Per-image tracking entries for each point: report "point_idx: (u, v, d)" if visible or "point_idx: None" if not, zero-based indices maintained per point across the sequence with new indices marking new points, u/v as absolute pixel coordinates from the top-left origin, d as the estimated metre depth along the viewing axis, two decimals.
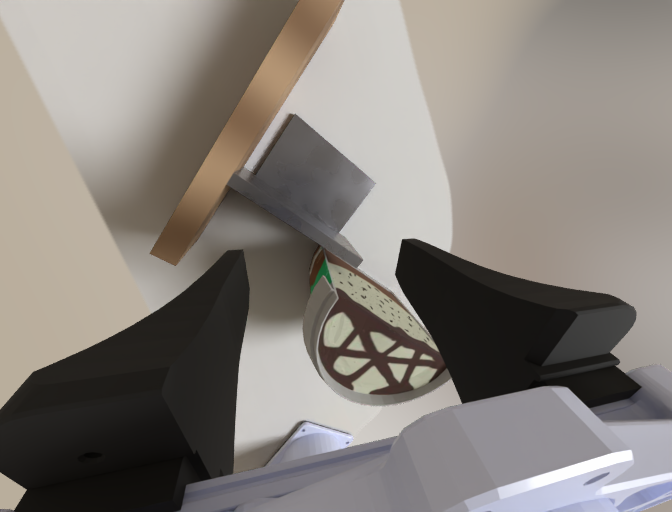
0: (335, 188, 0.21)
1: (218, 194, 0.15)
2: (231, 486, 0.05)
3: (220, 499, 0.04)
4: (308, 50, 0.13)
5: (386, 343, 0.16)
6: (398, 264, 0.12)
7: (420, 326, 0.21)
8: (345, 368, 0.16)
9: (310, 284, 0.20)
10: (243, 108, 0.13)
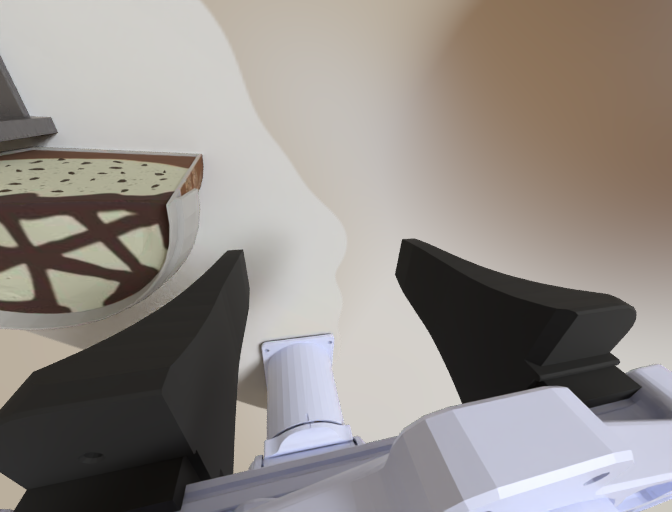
0: None
1: None
2: (231, 486, 0.05)
3: (220, 499, 0.04)
4: None
5: None
6: (398, 264, 0.12)
7: (184, 175, 0.13)
8: (13, 292, 0.11)
9: None
10: None
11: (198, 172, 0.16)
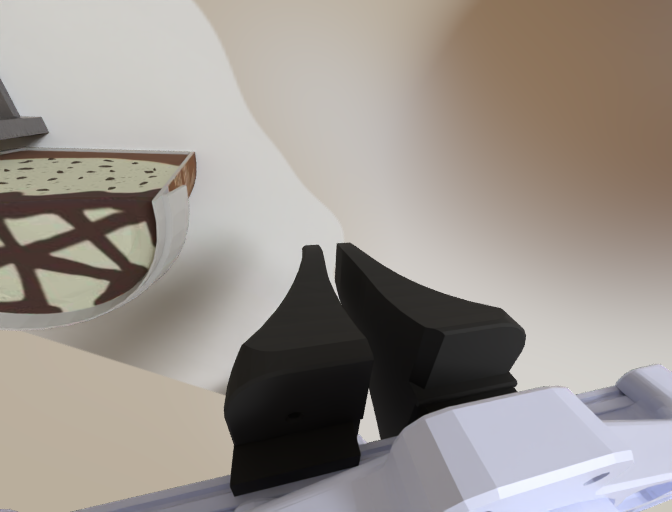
0: None
1: None
2: None
3: None
4: None
5: None
6: (336, 269, 0.12)
7: (174, 172, 0.13)
8: (2, 292, 0.11)
9: None
10: None
11: (190, 170, 0.16)
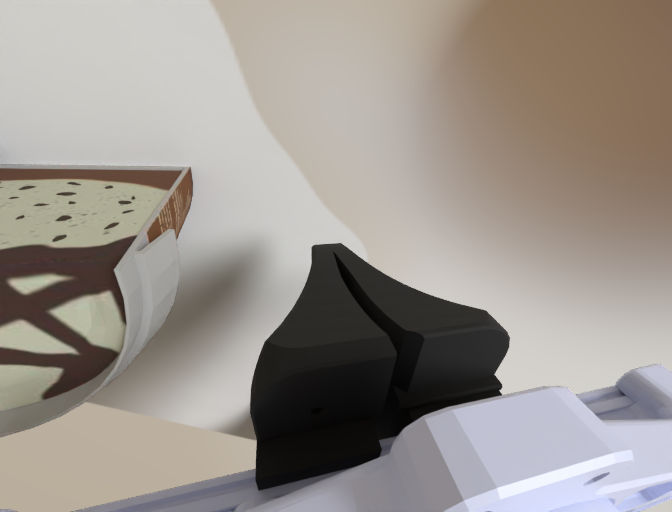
0: None
1: None
2: (231, 486, 0.05)
3: None
4: None
5: None
6: None
7: (160, 202, 0.09)
8: None
9: None
10: None
11: (184, 192, 0.12)
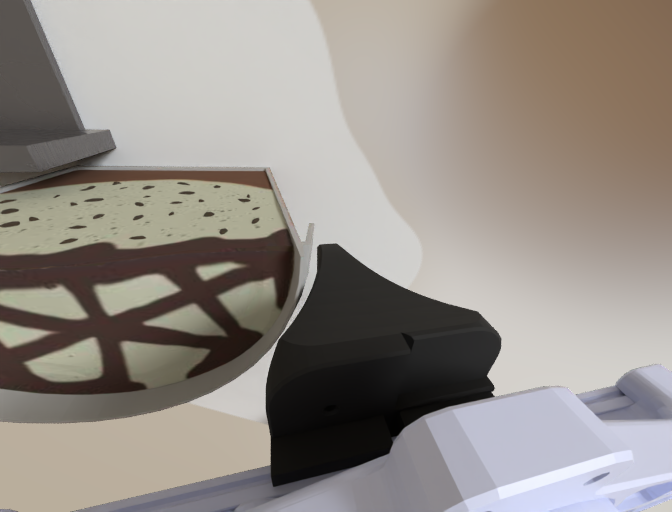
0: None
1: None
2: (231, 486, 0.05)
3: None
4: None
5: (55, 300, 0.06)
6: None
7: (275, 200, 0.10)
8: (75, 371, 0.08)
9: None
10: None
11: None
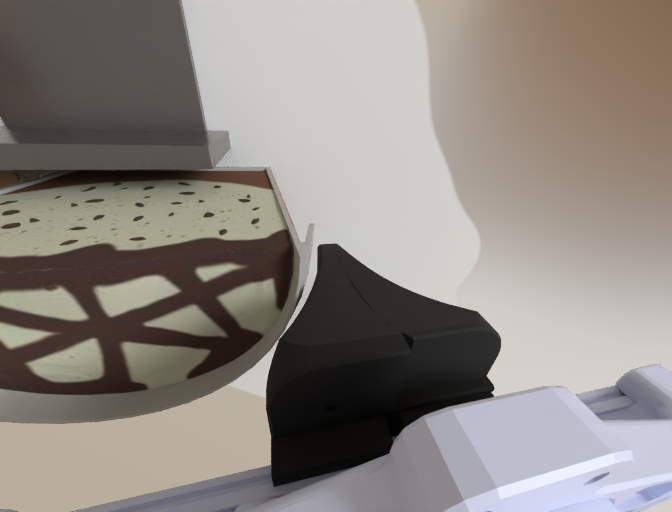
0: (125, 54, 0.11)
1: None
2: (231, 486, 0.05)
3: None
4: None
5: (55, 301, 0.06)
6: None
7: (275, 200, 0.10)
8: (77, 371, 0.08)
9: None
10: None
11: None
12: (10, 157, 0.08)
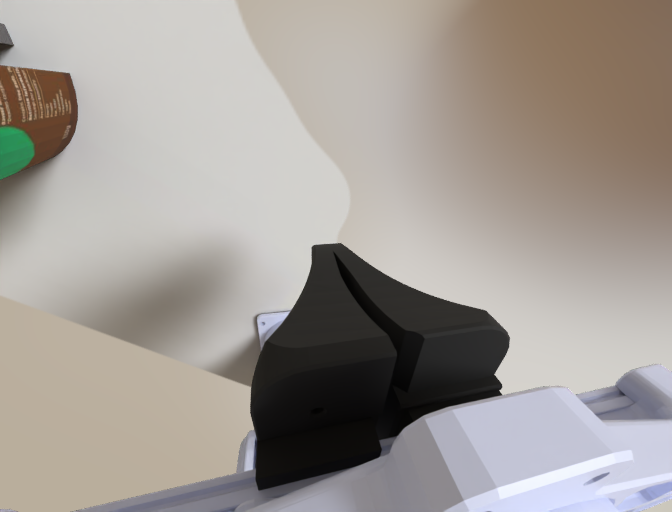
0: None
1: None
2: (231, 486, 0.05)
3: None
4: None
5: None
6: None
7: None
8: None
9: None
10: None
11: (46, 85, 0.12)
12: None
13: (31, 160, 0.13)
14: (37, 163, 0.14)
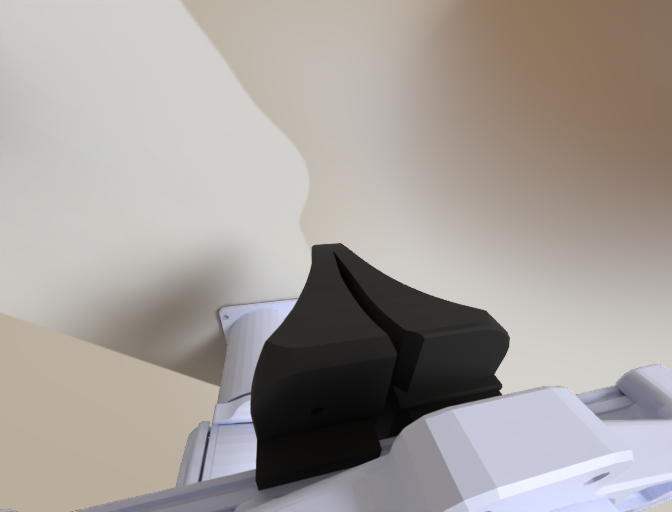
0: None
1: None
2: (231, 486, 0.05)
3: None
4: None
5: None
6: None
7: None
8: None
9: None
10: None
11: None
12: None
13: None
14: None
